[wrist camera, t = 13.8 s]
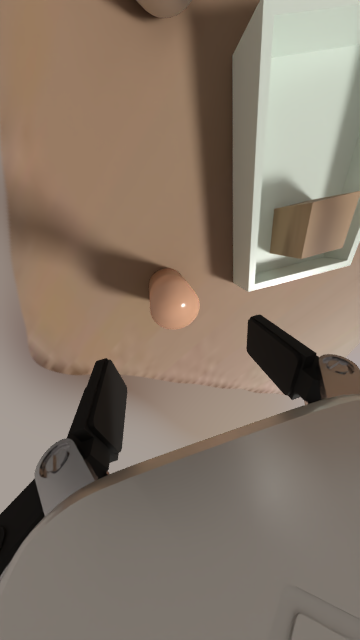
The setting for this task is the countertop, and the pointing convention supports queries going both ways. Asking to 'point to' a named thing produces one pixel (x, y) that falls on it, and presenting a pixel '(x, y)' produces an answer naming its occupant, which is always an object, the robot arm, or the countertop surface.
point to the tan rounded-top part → (172, 299)
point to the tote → (293, 129)
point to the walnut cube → (313, 226)
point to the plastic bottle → (164, 7)
